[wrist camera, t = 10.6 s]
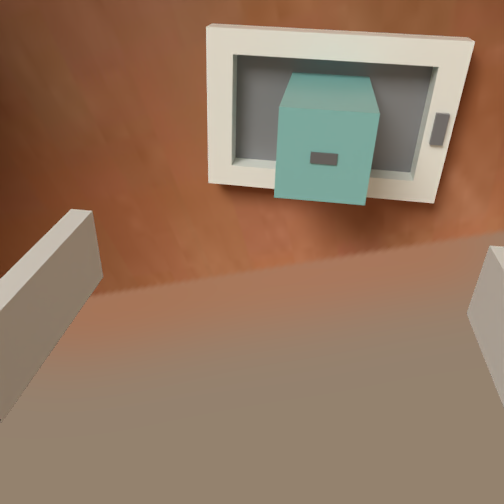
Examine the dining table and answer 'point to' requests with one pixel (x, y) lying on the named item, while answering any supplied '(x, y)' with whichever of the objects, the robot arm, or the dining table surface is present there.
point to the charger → (326, 138)
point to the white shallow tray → (336, 63)
